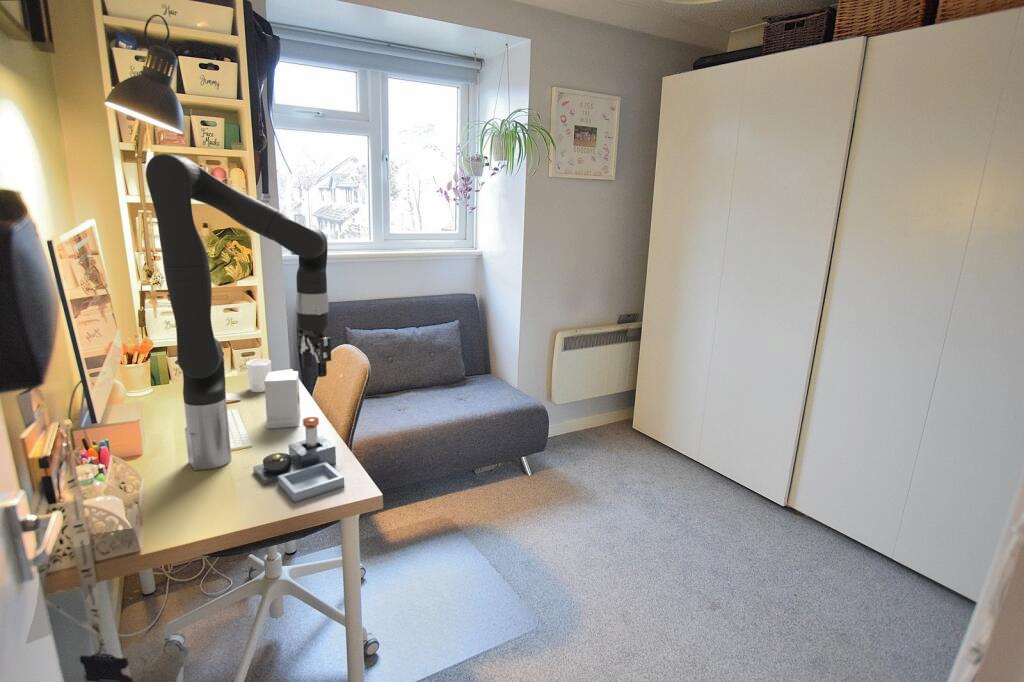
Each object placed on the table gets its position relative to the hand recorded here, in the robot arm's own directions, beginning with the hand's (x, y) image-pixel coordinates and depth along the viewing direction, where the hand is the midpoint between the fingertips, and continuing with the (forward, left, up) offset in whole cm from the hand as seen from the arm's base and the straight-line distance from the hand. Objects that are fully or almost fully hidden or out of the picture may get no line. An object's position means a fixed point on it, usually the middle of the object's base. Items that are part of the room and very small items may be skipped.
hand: (314, 371), depth 140 cm
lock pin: (-2, -2, -24) cm, 24 cm away
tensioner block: (-7, -2, -24) cm, 25 cm away
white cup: (+6, +61, -24) cm, 66 cm away
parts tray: (-7, -13, -24) cm, 28 cm away
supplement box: (+2, +28, -24) cm, 37 cm away
